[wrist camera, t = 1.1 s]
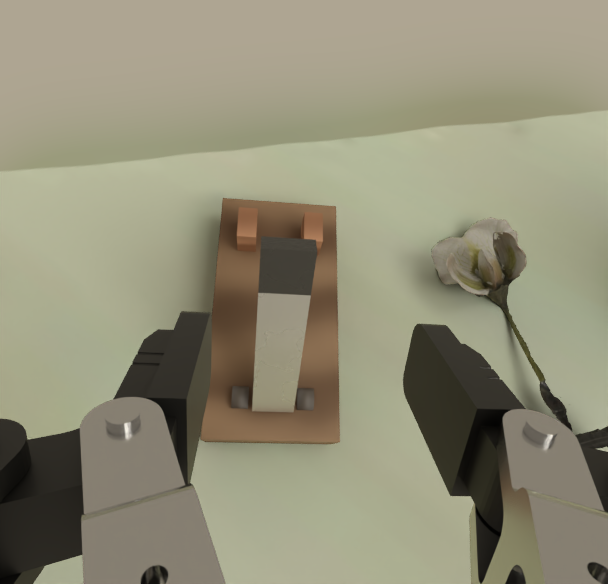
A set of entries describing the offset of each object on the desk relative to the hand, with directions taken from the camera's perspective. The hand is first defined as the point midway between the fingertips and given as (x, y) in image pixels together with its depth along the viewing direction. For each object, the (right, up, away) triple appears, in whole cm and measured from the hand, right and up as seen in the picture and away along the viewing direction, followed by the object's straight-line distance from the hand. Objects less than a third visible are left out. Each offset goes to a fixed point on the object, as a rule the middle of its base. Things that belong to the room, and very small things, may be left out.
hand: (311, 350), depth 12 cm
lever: (-2, -1, +17) cm, 17 cm away
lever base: (-3, -1, +27) cm, 28 cm away
